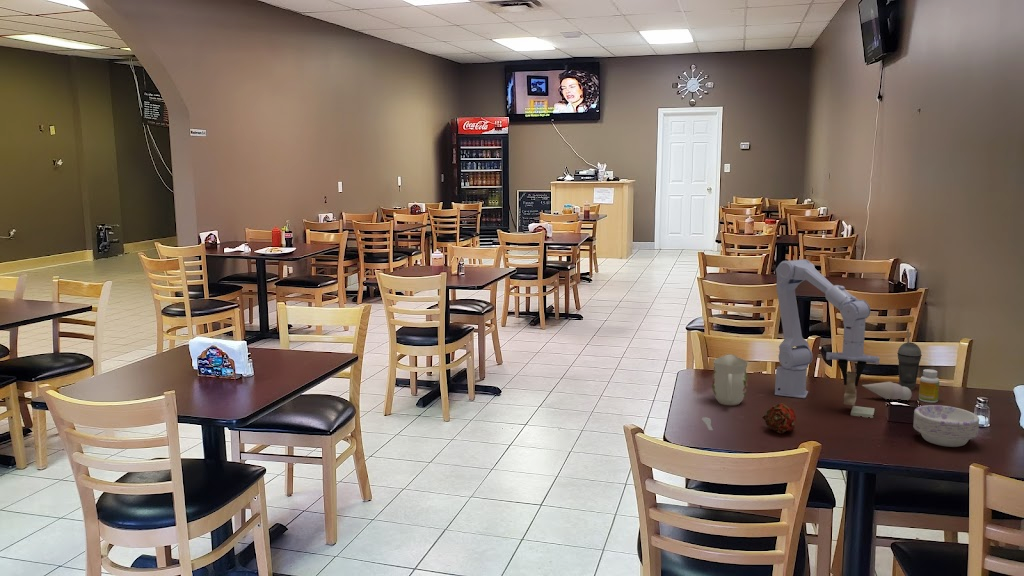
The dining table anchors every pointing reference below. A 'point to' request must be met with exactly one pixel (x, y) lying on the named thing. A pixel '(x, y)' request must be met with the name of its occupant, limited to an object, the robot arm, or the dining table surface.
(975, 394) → the dining table surface
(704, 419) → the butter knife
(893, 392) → the ice cream cone
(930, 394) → the supplement bottle
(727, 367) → the pitcher
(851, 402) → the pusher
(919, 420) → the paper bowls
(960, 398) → the dining table surface
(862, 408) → the tile
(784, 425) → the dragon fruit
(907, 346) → the beverage cup
